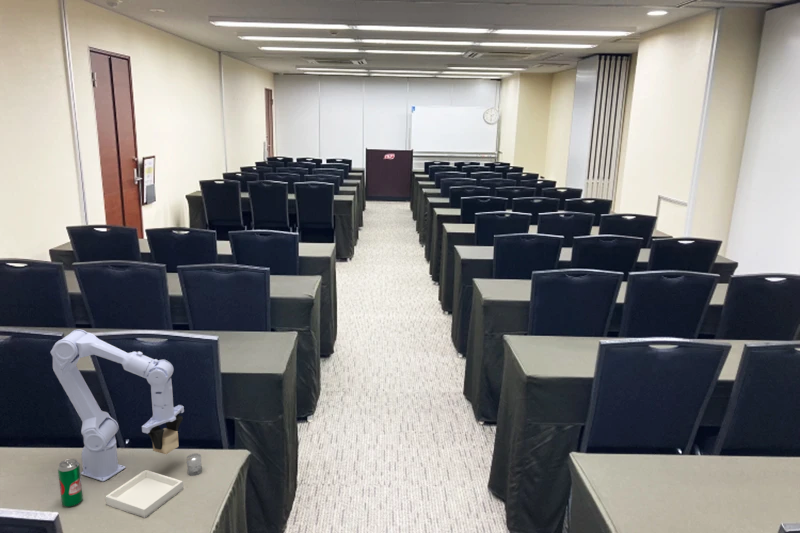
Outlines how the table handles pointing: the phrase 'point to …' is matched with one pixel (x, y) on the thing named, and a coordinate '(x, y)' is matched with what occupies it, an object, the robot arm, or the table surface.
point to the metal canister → (194, 464)
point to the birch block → (168, 441)
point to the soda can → (70, 483)
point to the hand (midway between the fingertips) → (165, 443)
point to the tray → (144, 493)
